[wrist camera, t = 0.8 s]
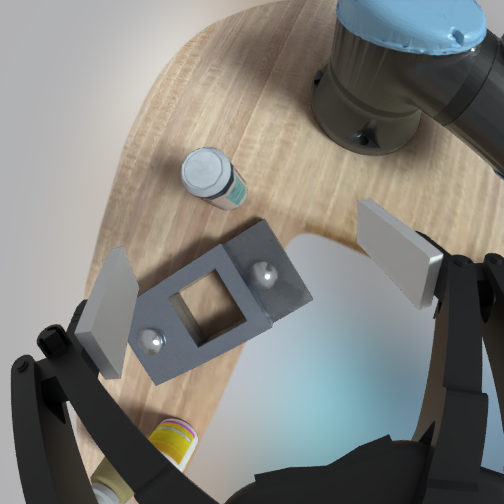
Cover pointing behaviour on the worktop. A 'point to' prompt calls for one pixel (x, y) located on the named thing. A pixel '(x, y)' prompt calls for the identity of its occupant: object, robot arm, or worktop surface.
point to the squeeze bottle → (109, 485)
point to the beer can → (213, 178)
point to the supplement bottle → (175, 441)
